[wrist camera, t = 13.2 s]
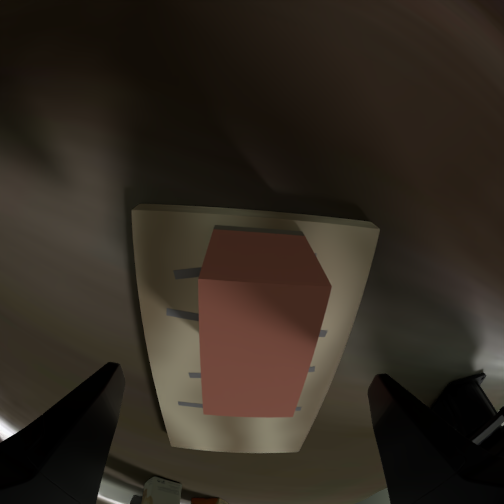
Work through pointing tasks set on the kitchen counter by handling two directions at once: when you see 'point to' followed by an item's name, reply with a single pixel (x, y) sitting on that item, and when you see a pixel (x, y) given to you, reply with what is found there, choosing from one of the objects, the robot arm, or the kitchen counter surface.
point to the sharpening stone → (136, 500)
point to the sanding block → (258, 320)
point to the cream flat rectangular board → (187, 317)
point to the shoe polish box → (208, 501)
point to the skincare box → (161, 492)
